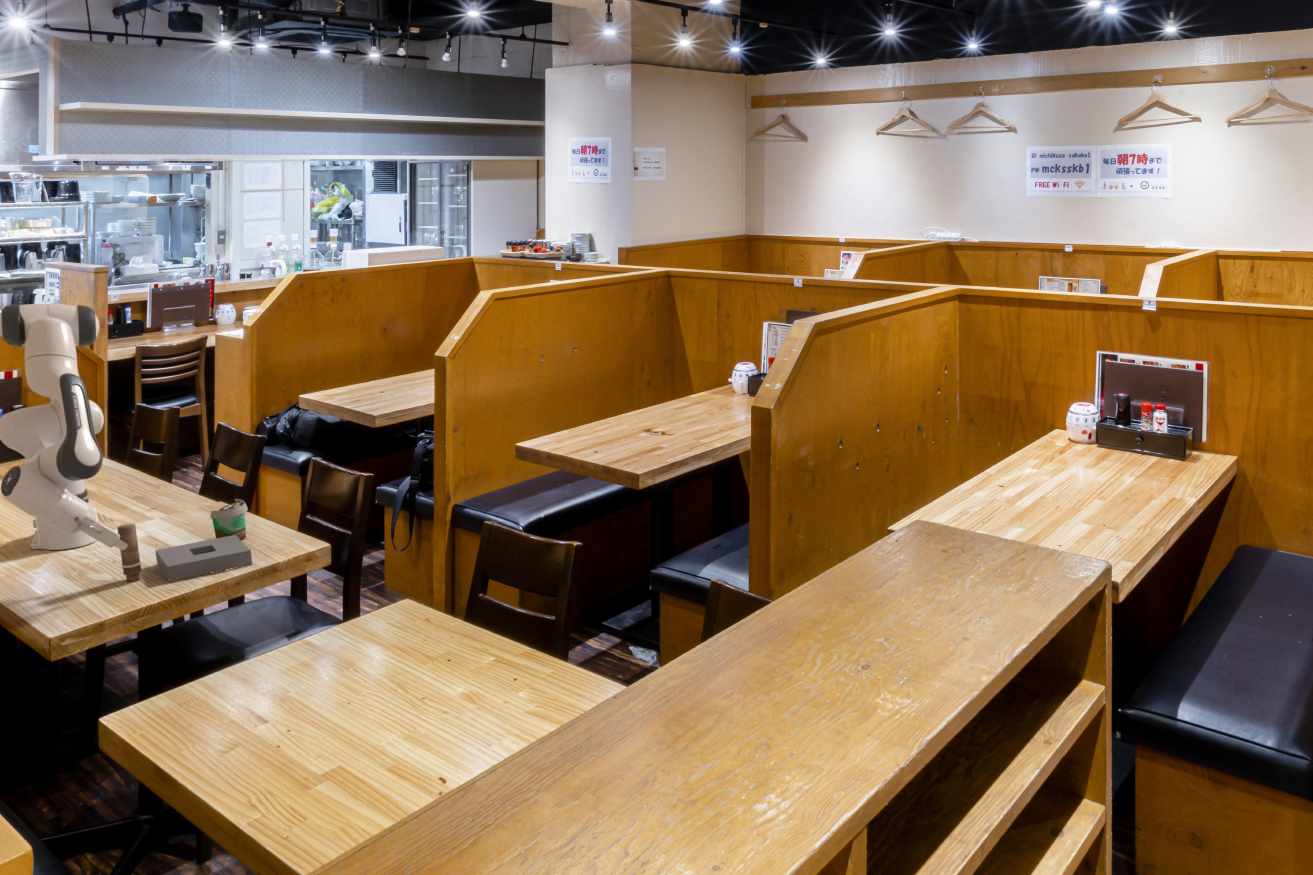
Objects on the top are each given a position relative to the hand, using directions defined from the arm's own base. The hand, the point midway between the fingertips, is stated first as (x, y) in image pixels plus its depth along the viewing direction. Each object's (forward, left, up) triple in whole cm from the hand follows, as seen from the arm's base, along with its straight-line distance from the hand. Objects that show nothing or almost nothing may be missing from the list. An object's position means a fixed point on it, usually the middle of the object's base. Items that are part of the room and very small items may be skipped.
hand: (117, 543), depth 259 cm
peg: (-1, +2, -10) cm, 11 cm away
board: (-1, +19, -10) cm, 22 cm away
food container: (-17, +31, -11) cm, 37 cm away
